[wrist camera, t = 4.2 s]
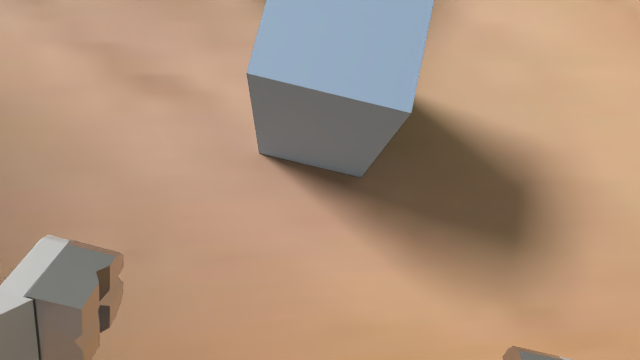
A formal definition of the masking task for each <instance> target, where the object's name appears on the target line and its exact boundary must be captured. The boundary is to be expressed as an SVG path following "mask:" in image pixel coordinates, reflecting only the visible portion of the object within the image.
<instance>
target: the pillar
mask: <svg viewBox="0 0 640 360" xmlns="http://www.w3.org/2000/svg"><path fill="white" fill-rule="evenodd" d="M433 3H434V0H266V3H265V7H264V11H263V15H262V18H261V22H260V26H259V29H258V33H257V37H256V40H255V44H254V48H253V51H252V55H251V59H250V63H249V66H248V70H247V79H248V85H249V92H250V98H251V104H252V111H253V117H254V124H255V130H256V137H257V143H258V149H259V153H260V154H265V155H269V156H273V157H277V158H281V159H286V160H290V161H294V162H298V163H302V164H307V165H311V166H315V167H319V168H323V169H328V170H332V171H336V172H340V173H344V174H349V175H353V176H357V177H362V176H363V174H364V173H365V172H366V171H367V169H368V168H369V167H370V165H371V164H372V163H373V162H374V160H375V159H376V158H377V156H378V155H379V154H380V153H381V151H382V150H383V149H384V147H385V146H386V145H387V144H388V142H389V141H390V140H391V139H392V137H393V136H394V135H395V133H396V132H397V131H398V130H399V128H400V127H401V126H402V124H403V123H404V122H405V121H406V119H407V118H408V117H409V115H410V114H411V112H412V107H413V102H414V97H415V92H416V87H417V82H418V77H419V72H420V68H421V63H422V58H423V53H424V48H425V43H426V38H427V33H428V28H429V23H430V18H431V13H432V8H433Z"/></svg>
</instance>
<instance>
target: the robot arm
mask: <svg viewBox="0 0 640 360" xmlns="http://www.w3.org/2000/svg"><path fill="white" fill-rule="evenodd" d="M123 267H124V261H123V254H121V253H119V252H115V251H111V250H108V249H104V248H100V247H96V246H92V245H89V244H85V243H81V242H77V241H72V240H68V239H64V238H60V237H56V236H53V235H49V234H48V235H47V236H45V237H43V238H41V239H40V240H39V241H38V242H37V244H36V245H35V246H34V247H33V248H32V249H31V251H30V252H29V253H28V254H27V255H26V256H25V258H24V259H23V260H22V261H21V262H20V263H19V264H18V266H17V267H16V268H15V269H14V270H13V271H12V273H11V274H10V275H9V276H8V277H7V278H6V280H5V281H4V282H3V283H2V284H1V285H0V360H92V358H93V356H94V354H95V353H96V351H97V349H98V347H99V346H100V333H101V332H102V331H104V330H106V329H108V328H110V326H111V324H112V322H113V320H114V318H115V317H116V314H117V311H118V309H119V306H120V303H121V299H122V294H123V282H122V281H121V279H120V278H119V277H118V276H119V274H120V272H121V271H122V269H123ZM503 360H573V359H568V358H564V357H558V356H555V355H551V354H547V353H542V352H538V351H533V350H529V349H525V348H520V347H516V346H512V347H511V348H509V349H508V350H507V351H506V353H505V354H504V356H503Z"/></svg>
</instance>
